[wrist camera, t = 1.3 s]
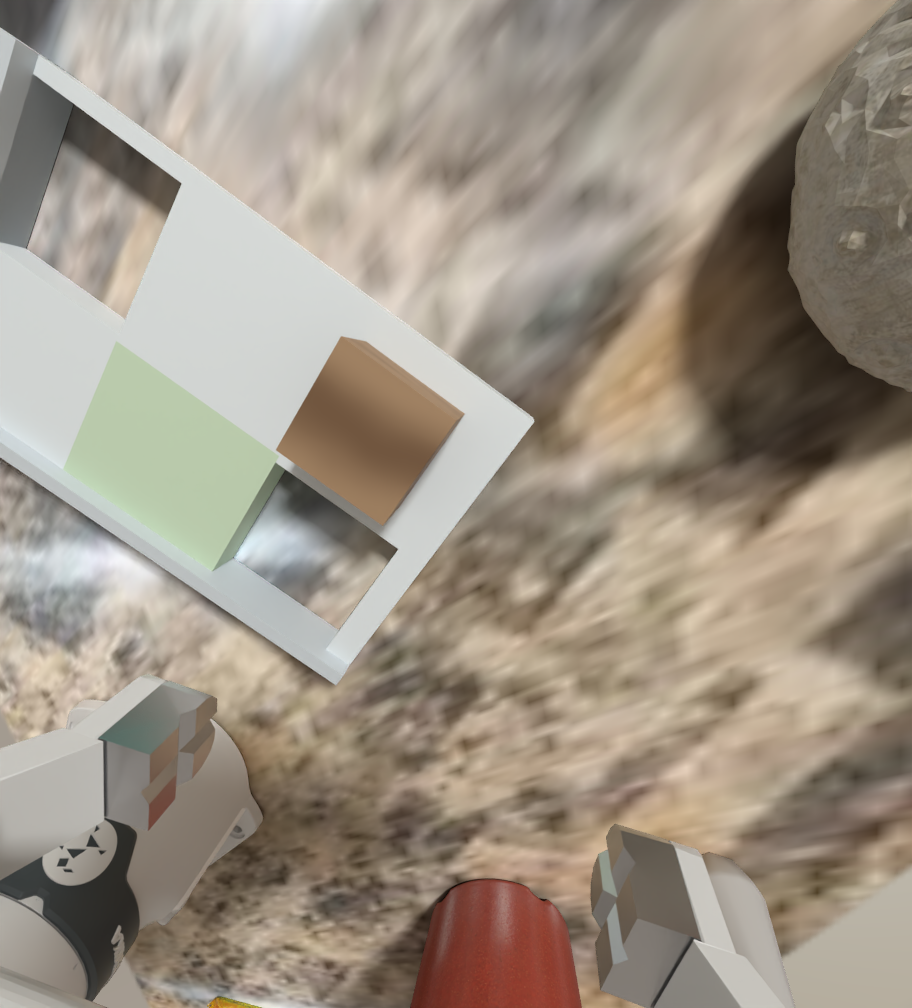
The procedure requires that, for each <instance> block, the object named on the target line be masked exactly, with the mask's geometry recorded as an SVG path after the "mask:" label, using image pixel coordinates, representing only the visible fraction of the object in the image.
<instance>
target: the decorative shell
mask: <svg viewBox="0 0 912 1008" xmlns="http://www.w3.org/2000/svg"><path fill="white" fill-rule="evenodd" d="M787 248H788V251H789V254H790V261H789V266H788V271H789V273H790V275H791V277H792V278H793V280H794V282H795V284H796V286H797V288H798V290H799V294H800V297H801V301H802V304H803V308H804V310H805V311H806V312H807V314H808V315H809V316H810V317H811V319H812V320H813V321H814V323H815V324H816V325H817V327H818V328H819V329H820V331H821V332H822V334H823V335H824V336H825V337H826V338H827V339H828V340H829V341H830V342H831V344H832V345H833V346H834V348H835V349H836V350H837V352H838V353H840V354H842V355H843V356H845V357H846V359H847V361H848V363H849V364H851V365H853V366H856V367H858V368H861V369H863V370H864V371H865V372H867V373H869V374H870V375H872V376H874V377H876V378H880V379H883V380H884V381H886V382H887V383H889V384H890V385H894V386H898V387H902V388H904V389H905V390H906V391H907V392H912V0H898V1H897V2H896V3H895V4H894V5H893V6H892V7H891V8H890V9H889V10H888V11H887V12H886V13H885V14H884V15H883V16H882V17H881V18H880V19H879V20H878V21H877V22H876V23H875V24H874V25H873V26H872V27H871V28H870V29H869V30H868V32H867V33H866V34H865V35H864V36H863V37H862V38H861V39H860V40H859V42H858V43H857V44H856V46H855V47H854V48H853V50H852V51H851V53H850V54H849V55H848V57H847V58H846V59H845V61H844V62H843V63H842V64H841V65H840V66H839V67H838V68H837V70H836V72H835V74H834V76H833V77H832V79H831V81H830V83H829V85H828V86H827V87H826V88H825V90H824V91H823V93H822V95H821V97H820V100H819V102H818V104H817V106H816V108H815V109H814V111H813V112H812V114H811V115H810V117H809V119H808V122H807V124H806V126H805V128H804V130H803V132H802V135H801V137H800V139H799V141H798V143H797V147H796V159H795V186H794V188H793V190H792V199H791V225H790V232H789V238H788V245H787Z"/></svg>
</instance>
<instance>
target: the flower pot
mask: <svg viewBox="0 0 912 1008" xmlns="http://www.w3.org/2000/svg"><path fill="white" fill-rule="evenodd" d="M410 1008H582V1006H581V1000H580V994H579V989H578V983H577V977H576V972H575V966H574V960H573V955H572V949H571V943H570V937H569V932H568V928H567V925H566V923H565V921H564V919H563V917H562V915H561V914H560V912H559V911H558V910H557V908H556V907H555V906H554V905H553V904H552V903H551V902H550V901H549V900H545V901H542V900H540V899H539V898H538V897H536V896H535V895H534V894H533V893H532V892H531V891H530V889H529V888H528V887H526V886H523V885H521V884H517V883H514V882H511V881H504V880H495V879H483V880H475V881H469V882H466V883H463V884H460V885H458V886H456V887H454V888H452V889H451V890H450V891H449V893H448V894H447V896H446V897H445V898H444V900H443V901H442V902H439V903H437V904H436V906H435V908H434V911H433V914H432V918H431V922H430V927H429V931H428V935H427V939H426V943H425V948H424V952H423V956H422V960H421V964H420V969H419V973H418V977H417V982H416V986H415V990H414V994H413V998H412V1003H411V1007H410Z"/></svg>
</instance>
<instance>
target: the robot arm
mask: <svg viewBox="0 0 912 1008" xmlns="http://www.w3.org/2000/svg"><path fill="white" fill-rule="evenodd" d="M216 712H217V698H215V697H213V696H211V695H208V694H205V693H202V692H200V691H197V690H194V689H191V688H188V687H185V686H183V685H180V684H177V683H174V682H171V681H167V680H164V679H161V678H158V677H156V676H153V675H150V674H146V675H143V676H140V677H138V678H137V679H135V680H134V681H133V682H131V683H130V684H129V685H128V686H126V687H125V688H124V689H122V690H121V691H120V692H119V693H117V694H116V695H115V696H113V697H112V698H111V699H109V700H108V701H100V700H82V701H80V702H79V703H78V704H77V705H76V706H75V707H74V708H73V709H72V710H71V711H70V713H69V716H68V721H67V725H66V728H61V729H58V730H55V731H52V732H49V733H46V734H43V735H40V736H36V737H33V738H30V739H27V740H24V741H21V742H18V743H15V744H12V745H9V746H6V747H3V748H0V1008H107V1007H104V1006H101V1005H99V1004H96V1003H93V1002H92V1001H93V1000H94V999H95V997H96V996H97V994H98V993H99V992H100V990H101V989H102V988H103V987H104V986H105V985H106V984H107V983H108V981H109V980H110V979H111V978H112V976H113V975H114V973H115V972H116V970H117V968H118V967H119V966H120V963H121V962H122V959H123V957H124V956H125V954H126V953H127V951H128V950H129V948H130V947H131V945H132V944H133V943H134V941H135V939H136V937H137V935H138V931H139V930H141V929H143V928H144V927H146V926H148V925H150V924H152V923H154V922H158V923H159V924H160V925H164V926H165V925H166V924H167V923H168V922H169V921H170V920H171V919H172V918H173V916H174V915H175V914H177V913H178V912H179V911H180V910H181V909H182V907H183V906H184V905H185V903H186V902H187V900H188V899H189V897H190V894H191V892H192V891H193V889H194V888H195V886H196V885H197V883H198V882H199V880H200V878H201V877H202V875H203V874H204V872H205V871H206V869H207V868H208V867H209V866H210V865H212V864H213V863H214V862H216V861H217V860H218V859H220V858H221V857H222V856H224V855H225V854H227V853H228V852H229V851H231V850H232V849H233V848H235V847H236V846H237V845H239V844H240V843H241V842H243V841H244V840H245V839H247V838H248V837H249V836H251V835H252V834H253V833H254V832H255V831H256V830H257V829H258V827H259V826H260V824H261V823H262V821H263V816H262V813H261V810H260V809H259V807H258V805H257V803H256V801H255V800H254V798H253V797H252V795H251V792H250V788H249V781H248V774H247V769H246V766H245V763H244V760H243V758H242V755H241V753H240V751H239V750H238V748H237V746H236V745H235V743H234V742H233V740H232V739H231V738H230V736H229V735H228V734H227V733H226V732H225V731H224V730H223V729H222V728H221V727H220V726H219V725H218V724H217V723H216V722H215V721H214V720H212V719H211V718H212V717H213V716H214V714H215V713H216ZM606 840H607V847H608V850H606V851H604V852H602V853H600V854H598V857H597V859H596V862H595V864H594V867H593V872H592V879H591V908H592V915H593V916H594V918H595V920H596V921H597V923H598V925H599V926H600V928H601V932H600V934H599V936H598V938H597V940H596V942H595V946H596V955H597V964H598V973H599V981H600V990H601V991H604V992H607V993H609V994H612V995H614V996H617V997H619V998H622V999H625V1000H627V1001H630V1002H632V1003H635V1004H638V1005H640V1006H643V1007H645V1008H785V1006H784V1005H783V1004H782V1003H781V1001H780V1000H779V999H778V998H777V996H776V995H775V994H774V992H773V991H772V990H771V989H770V987H769V986H768V985H767V984H766V982H765V981H764V980H763V978H762V977H761V976H760V975H759V973H758V972H757V971H756V970H755V968H754V967H753V966H752V964H751V963H750V962H749V961H748V959H747V958H746V957H744V956H742V955H739V954H736V951H735V948H734V945H733V943H732V940H731V937H730V934H729V931H728V928H727V926H726V923H725V920H724V917H723V914H722V911H721V909H720V906H719V903H718V900H717V897H716V894H715V892H714V889H713V886H712V883H711V880H710V877H709V875H708V872H707V869H706V866H705V863H704V860H703V858H702V855H701V854H700V853H699V851H698V850H697V849H695V848H692V847H688V846H685V845H682V844H679V843H675V842H672V841H667V840H666V839H663V838H660V837H657V836H653V835H650V834H647V833H644V832H640V831H637V830H634V829H631V828H627V827H624V826H621V825H617V824H614V825H613V826H612V827H611V828H610V830H609V832H608V834H607V836H606Z"/></svg>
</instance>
